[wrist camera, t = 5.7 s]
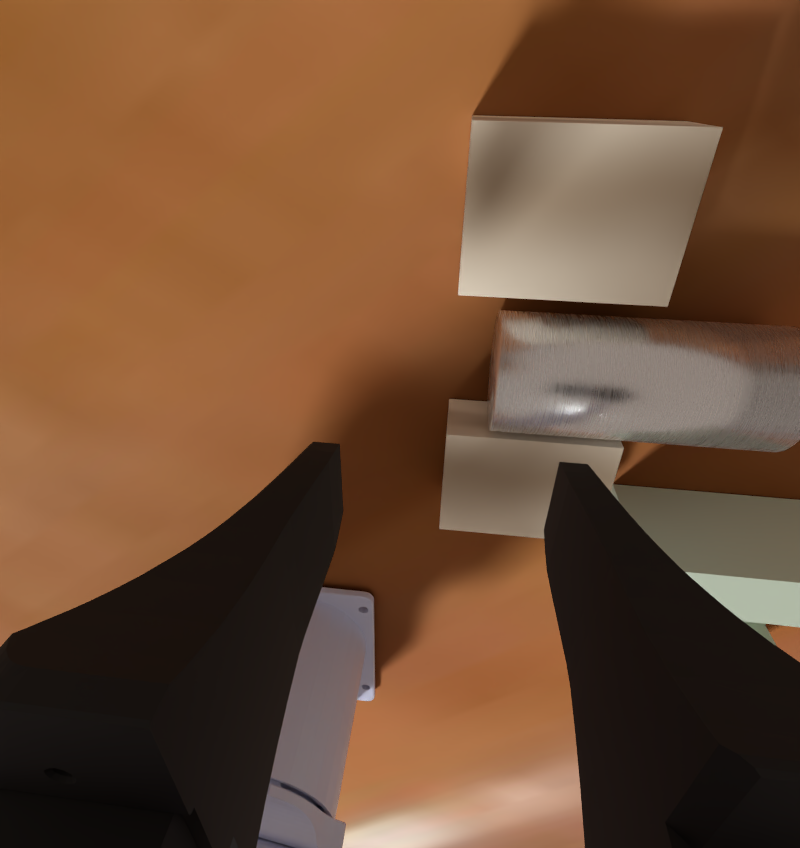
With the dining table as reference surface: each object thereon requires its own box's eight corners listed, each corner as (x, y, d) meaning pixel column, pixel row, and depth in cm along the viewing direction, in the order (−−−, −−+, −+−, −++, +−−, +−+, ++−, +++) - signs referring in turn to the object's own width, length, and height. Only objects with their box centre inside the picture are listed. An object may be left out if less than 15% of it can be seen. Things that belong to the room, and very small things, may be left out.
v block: (728, 651, 27) (771, 745, 23) (566, 634, 27) (582, 722, 23) (818, 501, 21) (892, 591, 17) (612, 484, 22) (642, 567, 18)
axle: (729, 395, 20) (771, 477, 17) (486, 379, 20) (487, 455, 18) (784, 301, 17) (844, 381, 14) (500, 286, 18) (503, 360, 15)
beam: (583, 500, 22) (594, 543, 20) (441, 488, 23) (439, 528, 21) (687, 121, 15) (723, 127, 13) (472, 115, 15) (472, 119, 13)
